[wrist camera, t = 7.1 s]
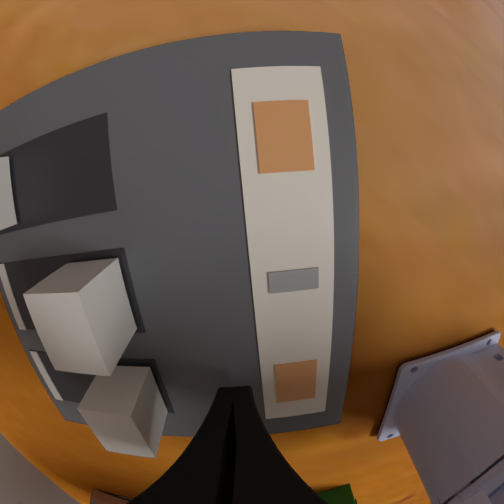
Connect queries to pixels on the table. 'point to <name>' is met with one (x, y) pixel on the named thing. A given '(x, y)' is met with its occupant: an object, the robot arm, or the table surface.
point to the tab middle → (83, 316)
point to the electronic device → (107, 498)
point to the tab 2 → (125, 411)
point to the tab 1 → (6, 196)
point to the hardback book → (339, 495)
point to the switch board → (199, 218)
